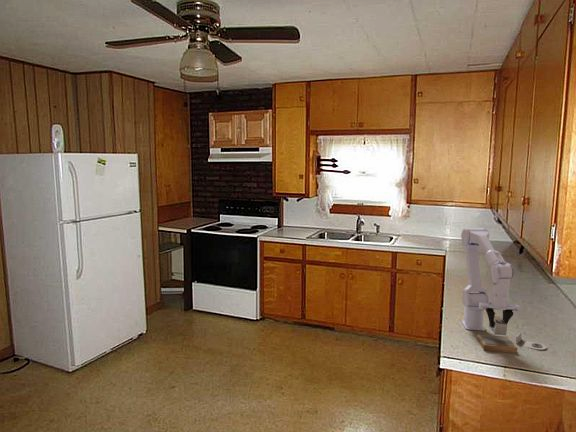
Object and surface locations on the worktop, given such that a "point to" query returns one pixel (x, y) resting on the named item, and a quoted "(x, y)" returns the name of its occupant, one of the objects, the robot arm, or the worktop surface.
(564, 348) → the worktop surface
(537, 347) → the bracket
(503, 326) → the housing
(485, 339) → the stand
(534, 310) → the worktop surface
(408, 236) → the worktop surface
